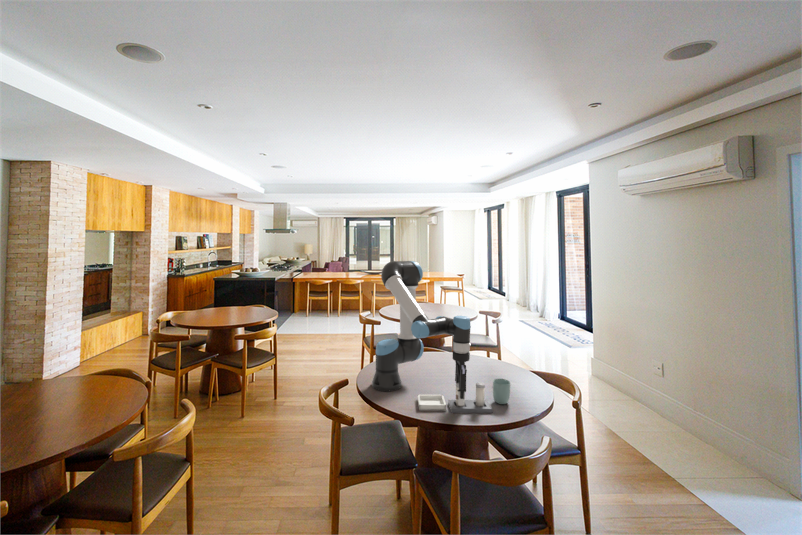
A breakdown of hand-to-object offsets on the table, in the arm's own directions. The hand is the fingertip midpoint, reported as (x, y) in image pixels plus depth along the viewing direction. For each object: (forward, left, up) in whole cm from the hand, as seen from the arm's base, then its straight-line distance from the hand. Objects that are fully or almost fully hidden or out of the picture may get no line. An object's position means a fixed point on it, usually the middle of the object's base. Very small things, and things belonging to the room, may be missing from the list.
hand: (460, 401), depth 157 cm
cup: (+20, +6, -3) cm, 22 cm away
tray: (-13, +3, -3) cm, 13 cm away
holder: (+4, 0, -3) cm, 5 cm away
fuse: (+9, 0, -3) cm, 9 cm away
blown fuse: (0, 0, -3) cm, 3 cm away
